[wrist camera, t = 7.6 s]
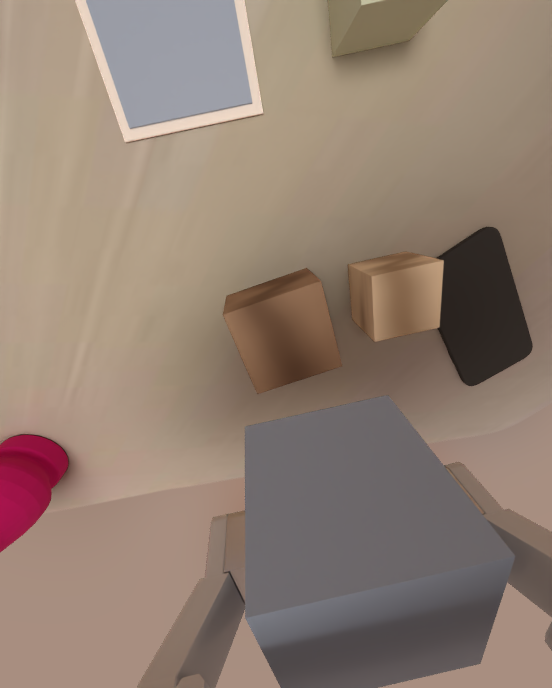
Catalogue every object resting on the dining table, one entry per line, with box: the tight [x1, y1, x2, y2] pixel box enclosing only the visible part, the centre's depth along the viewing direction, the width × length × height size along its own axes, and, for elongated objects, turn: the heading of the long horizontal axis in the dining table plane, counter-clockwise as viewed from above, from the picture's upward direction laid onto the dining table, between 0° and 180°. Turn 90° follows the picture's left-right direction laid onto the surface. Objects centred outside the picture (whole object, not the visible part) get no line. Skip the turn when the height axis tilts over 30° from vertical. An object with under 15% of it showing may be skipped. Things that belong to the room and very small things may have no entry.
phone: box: [436, 227, 532, 386], centre depth 27 cm, size 7×1×15 cm
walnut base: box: [223, 268, 342, 394], centre depth 23 cm, size 7×7×5 cm
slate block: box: [245, 395, 515, 688], centre depth 8 cm, size 5×5×5 cm
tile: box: [75, 0, 263, 143], centre depth 17 cm, size 9×7×1 cm
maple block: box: [348, 252, 444, 342], centre depth 22 cm, size 5×5×5 cm
